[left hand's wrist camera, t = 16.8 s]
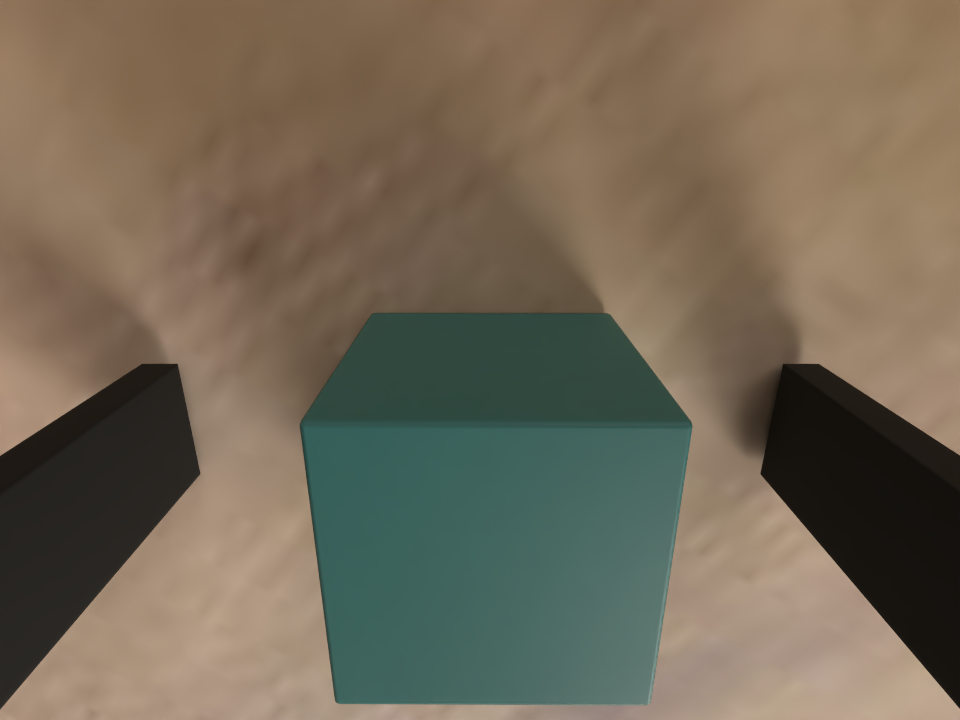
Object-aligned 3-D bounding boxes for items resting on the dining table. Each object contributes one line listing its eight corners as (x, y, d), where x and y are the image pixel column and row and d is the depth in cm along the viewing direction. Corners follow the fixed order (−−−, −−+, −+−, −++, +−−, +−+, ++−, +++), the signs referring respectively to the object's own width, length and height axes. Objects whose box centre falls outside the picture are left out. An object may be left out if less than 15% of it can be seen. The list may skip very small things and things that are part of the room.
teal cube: (370, 311, 12) (296, 422, 7) (610, 312, 12) (695, 423, 7) (385, 512, 14) (333, 706, 9) (593, 513, 13) (651, 708, 9)
